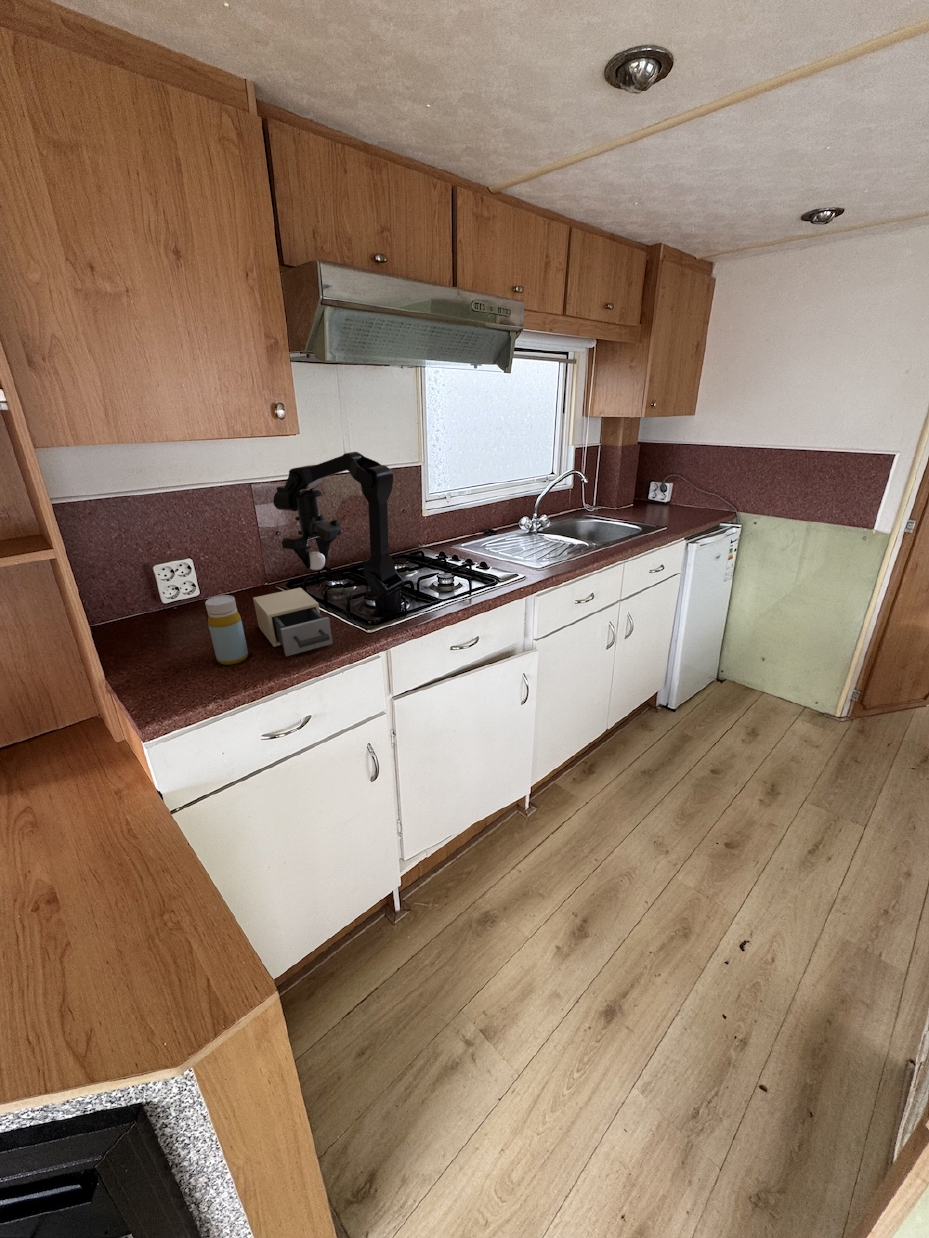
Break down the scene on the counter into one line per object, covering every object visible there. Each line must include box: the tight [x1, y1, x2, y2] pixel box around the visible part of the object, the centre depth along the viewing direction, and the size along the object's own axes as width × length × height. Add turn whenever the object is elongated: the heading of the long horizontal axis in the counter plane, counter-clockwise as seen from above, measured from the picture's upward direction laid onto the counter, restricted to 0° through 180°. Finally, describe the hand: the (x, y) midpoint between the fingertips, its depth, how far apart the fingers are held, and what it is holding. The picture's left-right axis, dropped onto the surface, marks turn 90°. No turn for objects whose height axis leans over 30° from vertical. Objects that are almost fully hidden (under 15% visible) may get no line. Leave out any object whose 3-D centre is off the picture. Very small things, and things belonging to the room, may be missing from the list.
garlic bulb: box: [309, 551, 326, 571], centre depth 158 cm, size 6×6×5 cm
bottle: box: [204, 594, 249, 666], centre depth 124 cm, size 7×7×15 cm
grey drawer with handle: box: [272, 608, 333, 657], centre depth 130 cm, size 19×11×7 cm, turn 33°
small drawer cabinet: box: [252, 587, 321, 648], centre depth 139 cm, size 15×13×9 cm
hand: (316, 564), depth 158 cm, fingers closed on garlic bulb, 6 cm apart
